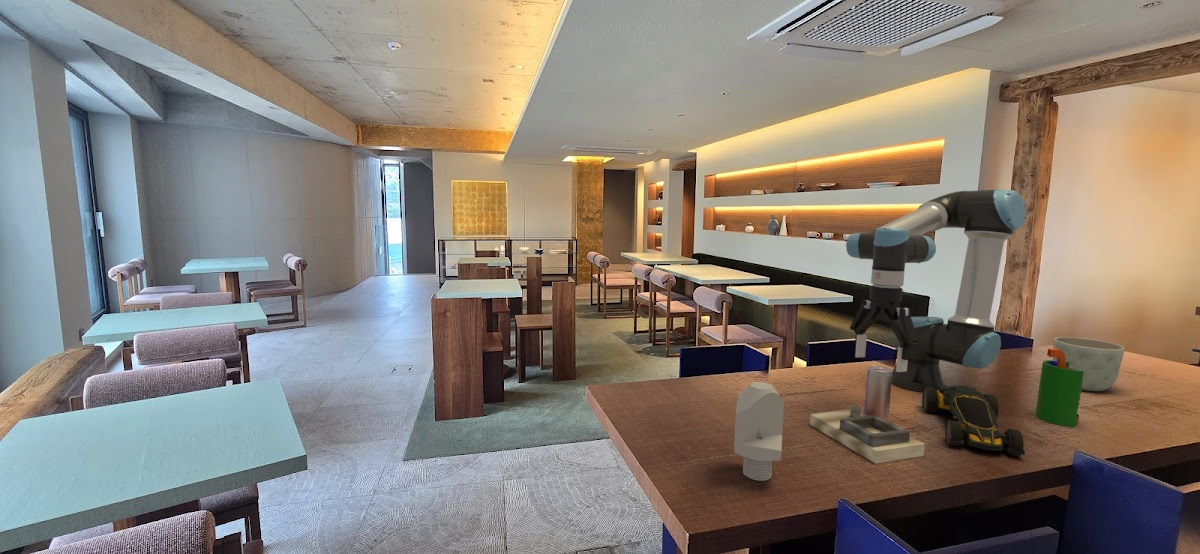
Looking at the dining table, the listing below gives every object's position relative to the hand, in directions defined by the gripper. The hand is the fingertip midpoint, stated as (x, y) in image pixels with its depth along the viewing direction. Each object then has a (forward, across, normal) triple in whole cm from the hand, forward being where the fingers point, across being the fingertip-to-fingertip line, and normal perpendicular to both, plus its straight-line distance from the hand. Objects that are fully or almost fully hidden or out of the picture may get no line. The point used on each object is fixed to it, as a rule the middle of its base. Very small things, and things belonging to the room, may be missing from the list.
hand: (879, 364), depth 134 cm
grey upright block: (+17, +16, -48) cm, 53 cm away
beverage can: (+17, 0, 0) cm, 17 cm away
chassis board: (+16, +8, -12) cm, 22 cm away
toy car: (+17, +11, +20) cm, 28 cm away
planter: (+16, -5, +91) cm, 93 cm away
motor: (+16, +12, +51) cm, 55 cm away
